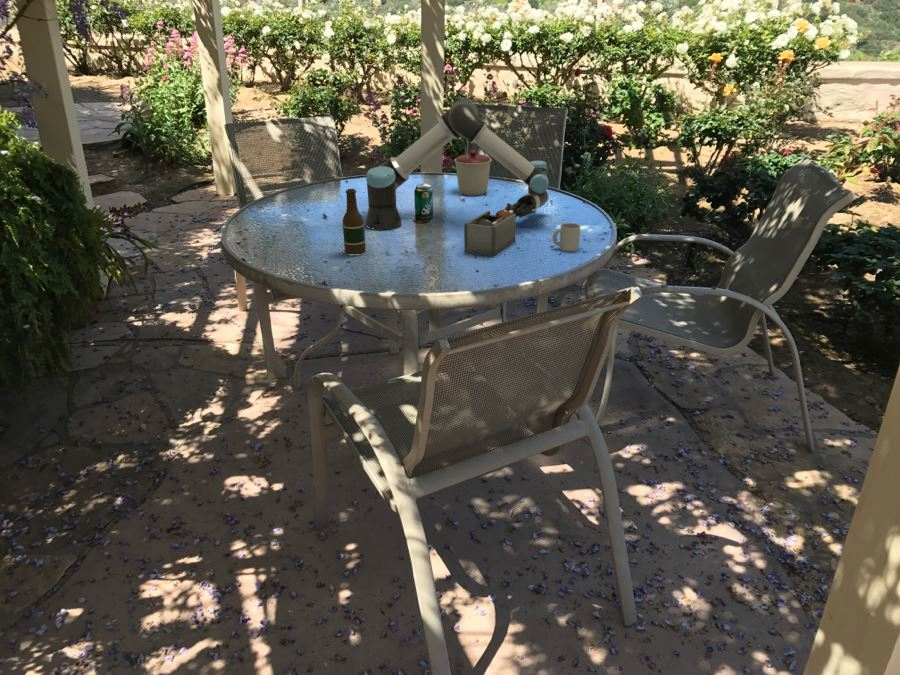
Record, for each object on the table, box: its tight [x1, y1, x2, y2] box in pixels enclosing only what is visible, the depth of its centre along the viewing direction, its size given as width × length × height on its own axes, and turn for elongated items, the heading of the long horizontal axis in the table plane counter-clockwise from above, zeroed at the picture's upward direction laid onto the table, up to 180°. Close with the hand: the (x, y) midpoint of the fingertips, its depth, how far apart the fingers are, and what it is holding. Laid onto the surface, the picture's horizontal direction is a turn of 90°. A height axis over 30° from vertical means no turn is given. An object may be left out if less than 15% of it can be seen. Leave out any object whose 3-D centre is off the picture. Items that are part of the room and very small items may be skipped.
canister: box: [453, 149, 493, 197], centre depth 340 cm, size 18×18×21 cm
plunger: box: [476, 209, 511, 226], centre depth 266 cm, size 18×8×8 cm, turn 152°
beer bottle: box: [342, 188, 367, 255], centre depth 258 cm, size 8×8×24 cm
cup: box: [552, 222, 581, 253], centre depth 262 cm, size 7×10×9 cm
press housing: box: [463, 210, 517, 258], centre depth 265 cm, size 20×12×11 cm, turn 152°
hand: (505, 217), depth 274 cm, fingers closed
